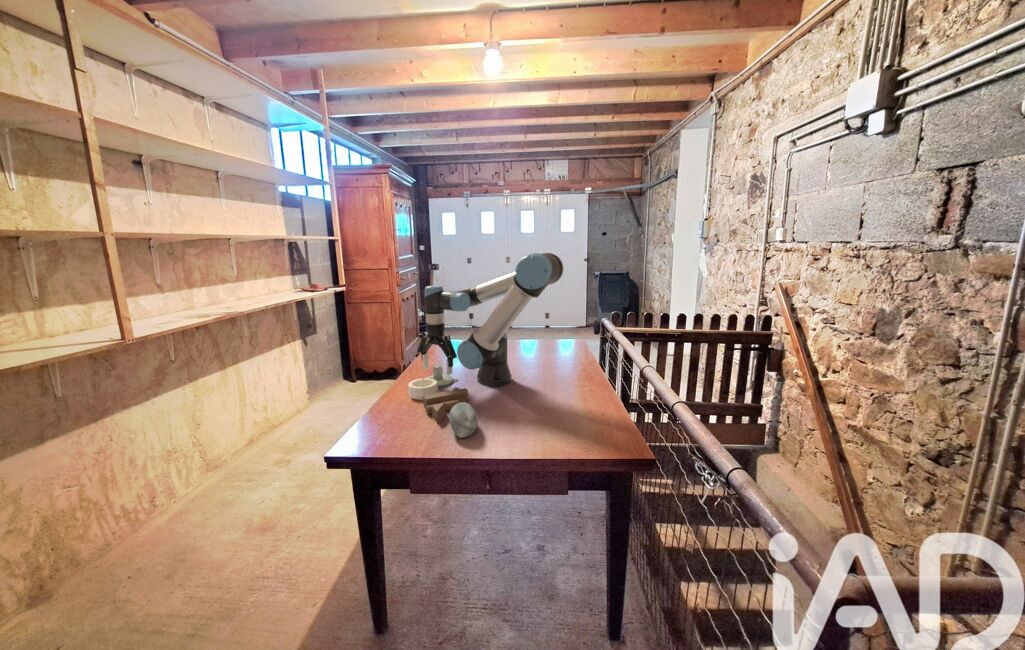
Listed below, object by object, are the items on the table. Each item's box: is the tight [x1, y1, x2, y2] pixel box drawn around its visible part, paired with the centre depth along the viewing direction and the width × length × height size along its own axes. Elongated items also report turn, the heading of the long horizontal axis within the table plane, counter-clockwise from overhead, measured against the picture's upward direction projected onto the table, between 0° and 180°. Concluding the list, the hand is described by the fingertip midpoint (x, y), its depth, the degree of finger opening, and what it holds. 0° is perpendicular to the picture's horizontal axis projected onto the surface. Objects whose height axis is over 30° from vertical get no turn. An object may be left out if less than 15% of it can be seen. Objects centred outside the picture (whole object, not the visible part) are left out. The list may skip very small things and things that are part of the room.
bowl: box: [407, 377, 439, 400], centre depth 153 cm, size 11×11×5 cm
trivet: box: [438, 378, 461, 391], centre depth 167 cm, size 13×13×1 cm
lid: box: [425, 364, 453, 387], centre depth 166 cm, size 12×12×7 cm
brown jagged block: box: [422, 388, 469, 424], centre depth 140 cm, size 17×6×18 cm
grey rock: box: [448, 401, 479, 439], centre depth 123 cm, size 14×10×10 cm
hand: (437, 371), depth 166 cm, fingers open, 13 cm apart
